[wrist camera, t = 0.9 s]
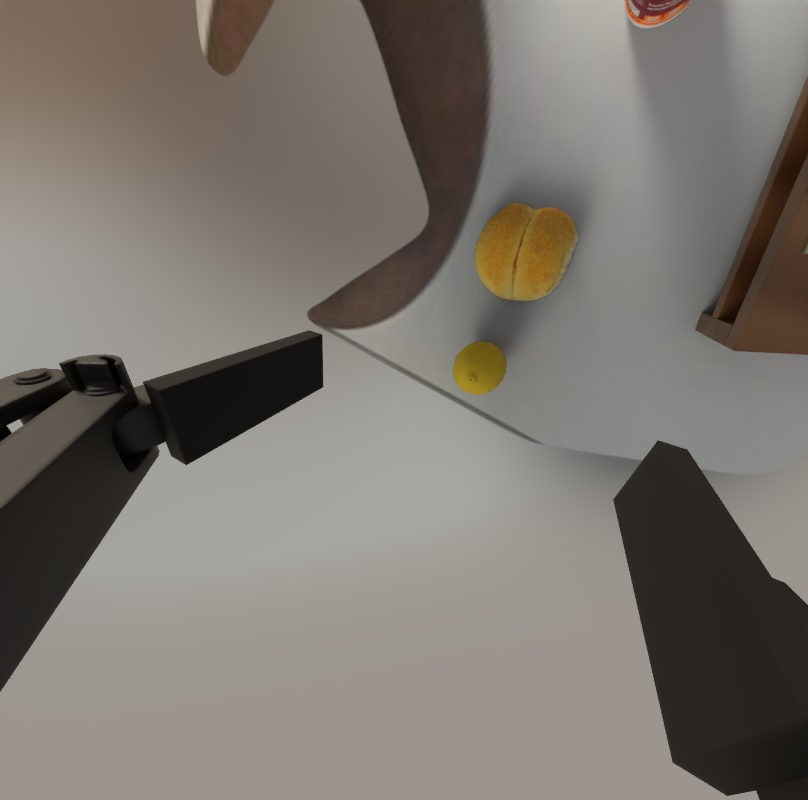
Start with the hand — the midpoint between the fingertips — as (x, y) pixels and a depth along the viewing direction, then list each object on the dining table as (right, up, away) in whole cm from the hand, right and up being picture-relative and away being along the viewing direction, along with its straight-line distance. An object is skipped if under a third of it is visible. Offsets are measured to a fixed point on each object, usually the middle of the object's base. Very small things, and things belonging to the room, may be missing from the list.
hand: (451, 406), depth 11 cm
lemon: (+8, +6, +23) cm, 25 cm away
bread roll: (+10, +15, +17) cm, 25 cm away
